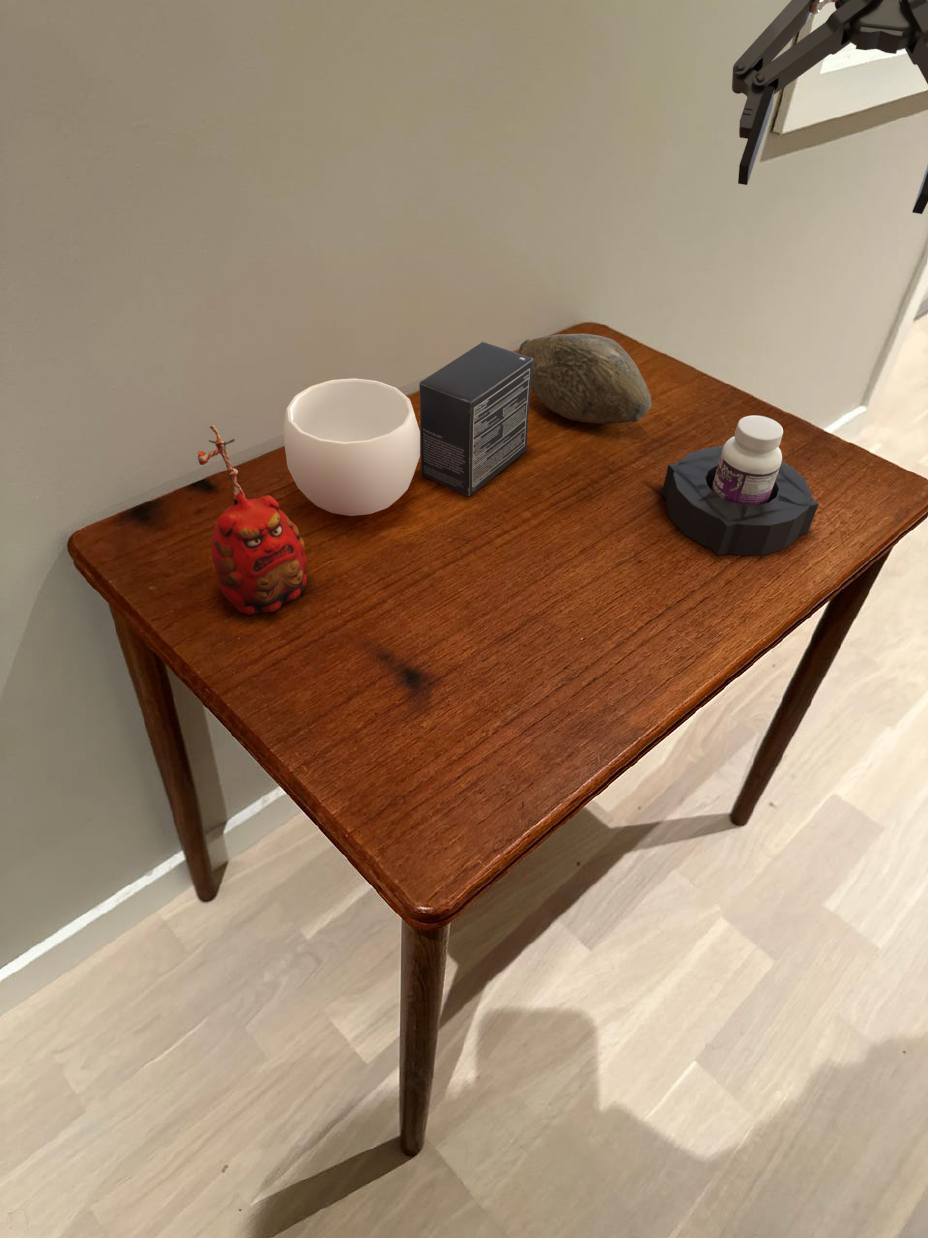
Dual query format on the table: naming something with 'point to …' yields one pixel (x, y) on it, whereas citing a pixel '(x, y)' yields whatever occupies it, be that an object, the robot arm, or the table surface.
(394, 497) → the cup
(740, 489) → the pill bottle
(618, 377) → the stone
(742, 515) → the dark grey faceted ring
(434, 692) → the table surface
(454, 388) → the small box
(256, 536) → the red clay folk toy
